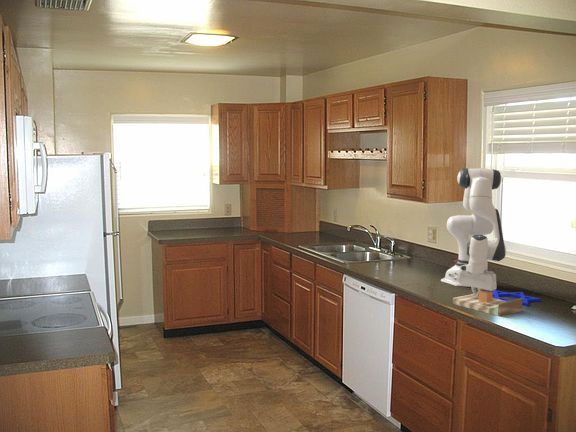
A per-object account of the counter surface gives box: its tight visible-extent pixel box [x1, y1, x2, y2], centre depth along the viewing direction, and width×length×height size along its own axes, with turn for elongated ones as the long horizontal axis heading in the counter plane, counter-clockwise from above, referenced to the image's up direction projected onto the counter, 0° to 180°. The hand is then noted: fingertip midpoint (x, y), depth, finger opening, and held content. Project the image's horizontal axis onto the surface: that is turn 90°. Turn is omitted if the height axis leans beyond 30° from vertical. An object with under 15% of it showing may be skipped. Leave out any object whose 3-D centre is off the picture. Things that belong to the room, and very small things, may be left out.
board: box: [452, 293, 523, 317], centre depth 299 cm, size 27×17×6 cm, turn 36°
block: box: [479, 290, 493, 303], centre depth 300 cm, size 4×4×4 cm
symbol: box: [492, 289, 542, 307], centre depth 317 cm, size 26×2×30 cm
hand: (476, 296), depth 304 cm, fingers closed
